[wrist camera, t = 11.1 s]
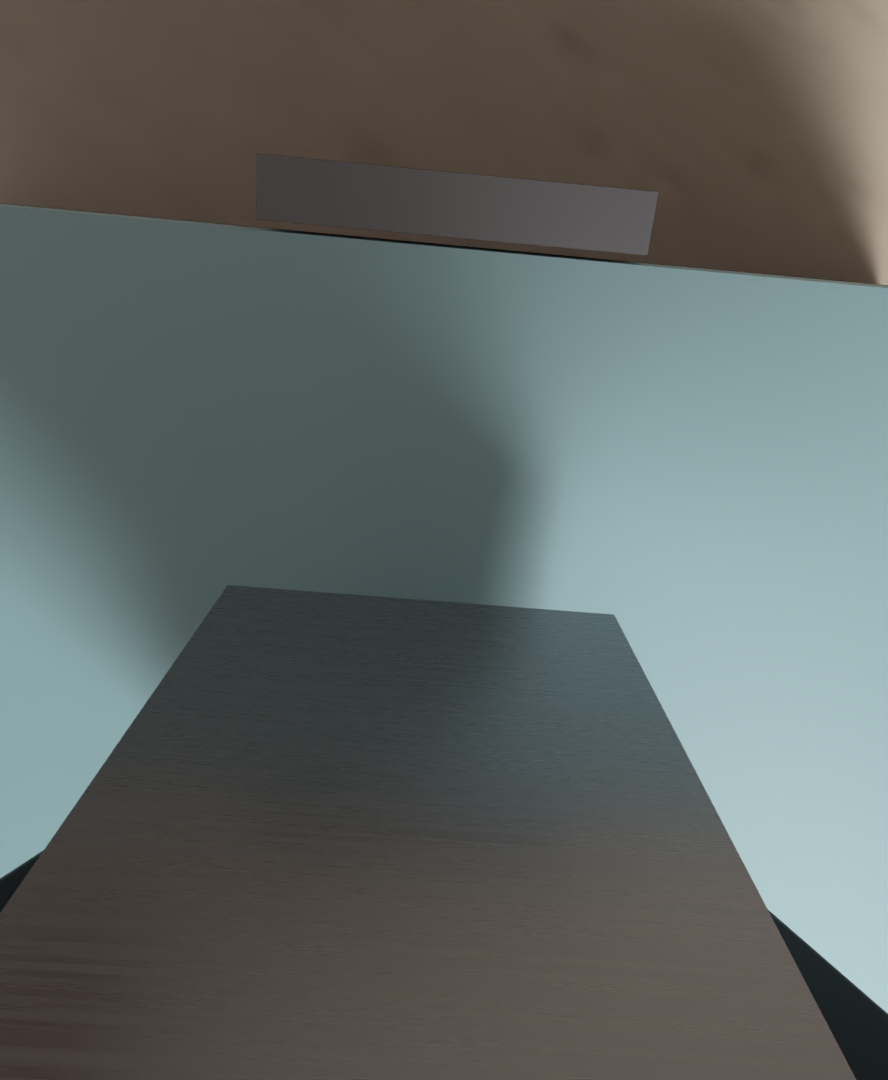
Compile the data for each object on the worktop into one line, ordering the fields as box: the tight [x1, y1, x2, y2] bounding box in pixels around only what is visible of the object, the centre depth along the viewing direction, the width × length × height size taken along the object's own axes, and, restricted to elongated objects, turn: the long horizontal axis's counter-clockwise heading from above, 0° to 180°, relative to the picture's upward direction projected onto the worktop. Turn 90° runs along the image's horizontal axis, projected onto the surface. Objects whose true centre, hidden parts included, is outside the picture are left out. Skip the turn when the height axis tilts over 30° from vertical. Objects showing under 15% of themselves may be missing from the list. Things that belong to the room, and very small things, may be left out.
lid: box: [0, 154, 888, 1013], centre depth 11 cm, size 12×16×1 cm
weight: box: [0, 585, 856, 1080], centre depth 6 cm, size 4×4×6 cm
